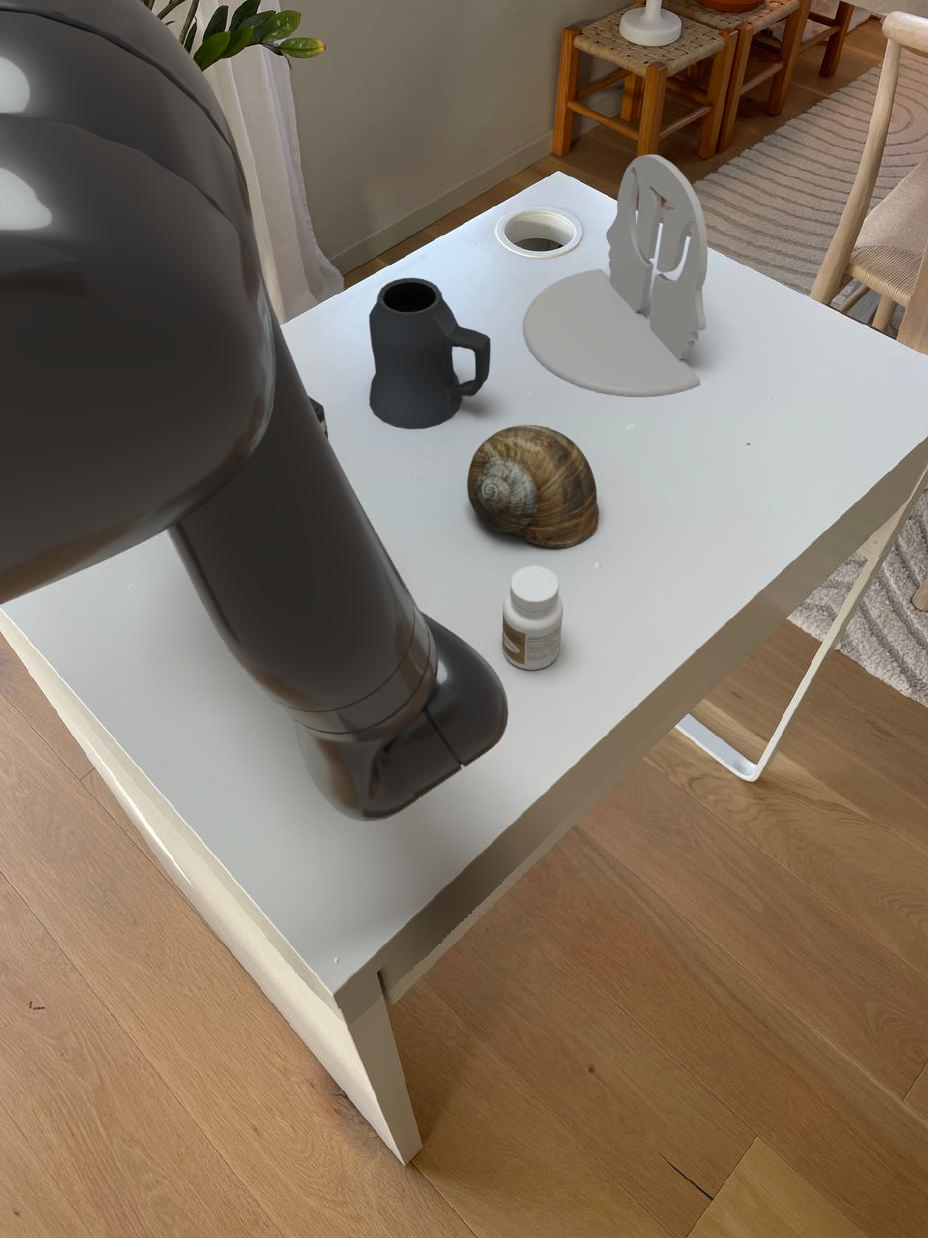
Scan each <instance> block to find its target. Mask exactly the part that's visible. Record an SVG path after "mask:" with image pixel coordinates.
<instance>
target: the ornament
mask: <svg viewBox="0 0 928 1238" xmlns="http://www.w3.org/2000/svg"><path fill="white" fill-rule="evenodd" d="M662 198H663V199H664V200H666V202H667V203H669V204H670V205H671V206H672V207H673V208H671V209H668V211H666V213H665V216H664V218H663V222H662V227H661V233H660V240H659V248H658V255H657V262H656V270H657V271H659V272H660V273H656V274H655V275H654V282H653V287H652V294H651V302H650V309H649V320H648V319H647V318H646V317H645V316H644V315H643V314H642V313H641V312H642V311H644V310H645V309H646V307H647V305H648V302H649V296H650V289H651V284H652V276H653V271H654V266H655V265H654V263H653V262H652V261H651V259H655V257H656V252H657V251H656V250H657V246H658V245H657V244H658V239H659V238H658V237H659V231H660V224H661V220H662V206H663V203H662ZM637 206H638V207H637ZM692 225H694V228H695V229H693V231H692V233H691V235H690V238H689V242H688V246H687V251H686V257H685V260H684V263H683V267H682V269H681V271H680V274H679V276H678V277H677V279H676V280H673V279H670V278H668V277H667V276H666V275H665V273H671V272H673V271H675V270H677V269H678V267H679V266H680V264H681V262H682V259H683V257H684V252H685V246H686V241H687V237H688V234H689V232H690V228H691V227H692ZM706 226H707V225H706V221H705V216H704V211H703V208H702V206H701V203H700V200H699V197H698V196H697V194H696V191H695V190H694V187H693V186H692V184H691V182H690V181H689V180H688V178H687V177H686V176H685V175H684V174H683V173H682V172H681V171H680V170H679V168H678V167H677V166H676V165H674V164H673V163H672V162H671V161H669V160H667V159H666V158H664V157H663V156H661V155H659V154H653V153H652V154H651V153H650V154H645V155H639V156H637V157H636V158H634V159H633V160H632V161H631V163H629V165H628V166H627V168H626V170H625V172H624V174H623V176H622V180H621V183H620V187H619V189H618V195H617V201H616V216H615V218H614V220H613V222H612V223H611V225H610V227H609V228H608V229H607V231H606V234H605V237H606V242H607V243H608V244H609V250H608V253H607V256H608V259H609V261H608V268H609V271H610V277H609V276H608V275H607V274H606V272H604V270H603V269H602V268H597V269H591V270H586V271H582V272H581V271H580V272H578V273H575V274H574V273H573V274H571V275H569V276H566V277H564V278H562V279H559V280H557V281H555V282H553V283H552V284H550V285H549V286H547V287H546V288H544V289H543V290H542V291H540V292H539V293H538V294H537V295H536V296H535V297H534V298H533V300H532V301H531V302H530V304H529V306H528V307H527V310H526V311H525V314H524V317H523V324H522V333H523V337H524V341H525V344H526V347H527V348H528V351H530V353H531V355H532V356H533V357H534V358H535V360H537V362H539V363H540V364H541V366H542V367H543V368H545V369H547V370H548V372H550V373H552V374H553V375H555V376H557V377H558V378H560V379H562V380H564V381H566V382H568V383H570V384H572V385H574V386H577V387H580V388H583V389H585V390H589V391H592V392H597V393H601V394H605V395H611V396H618V397H630V398H646V397H647V398H648V397H659V396H667V395H674V394H677V393H681V392H684V391H688V390H691V389H694V388H696V387H698V386H700V385H701V379H700V377H699V376H698V375H697V373H696V372H695V371H694V370H693V369H692V368H691V366H689V365H688V363H686V361H685V359H687V358H688V356H689V351H690V349H691V348H694V347H695V346H696V345H695V344H696V343H695V341H698V339H699V332H701V331H704V330H706V329H707V321H706V314H705V309H704V301H703V286H704V284H705V281H706V278H707V270H708V254H709V253H708V234H707V233H708V231H707V227H706Z"/></svg>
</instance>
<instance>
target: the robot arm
mask: <svg viewBox="0 0 928 1238" xmlns="http://www.w3.org/2000/svg"><path fill="white" fill-rule="evenodd" d="M273 305H274V304H273V303H272V300H271V297H270V293H269V290H268V288H267V284H266V281H265V278H264V273H263V267H262V261H261V256H260V251H259V245H258V239H257V234H256V228H255V223H254V217H253V211H252V206H251V199H250V193H249V187H248V183H247V178H246V173H245V169H244V167H243V164H242V160H241V157H240V155H239V151H238V147H237V145H236V141H235V138H234V136H233V133H232V130H231V127H230V125H229V123H228V120H227V118H226V115H225V114H224V111H223V109H222V107H221V105H220V103H219V101H218V99H217V96H216V94H215V92H214V90H213V89H212V86H211V84H210V83H209V82H208V79H207V78H206V76H205V74H204V72H203V71H202V70H201V68H200V66H199V65H198V64H197V62H196V61H195V60H194V58H193V57H192V56H191V54H190V53H189V52H188V51H187V49H186V48H185V46H184V45H183V44H182V43H181V42H180V40H179V39H178V38H177V36H175V34H174V32H173V31H172V29H170V27H169V26H168V25H167V24H166V23H165V22H163V21H162V20H161V19H160V18H159V17H158V16H157V15H156V14H155V13H154V12H153V11H152V10H151V9H150V8H149V7H148V6H146V5H145V4H144V3H143V2H142V1H141V0H0V606H1V605H4V604H6V603H8V602H9V603H10V602H11V601H13V600H15V599H18V598H20V597H24V596H25V595H28V594H30V593H32V592H35V591H38V590H40V589H42V588H44V587H47V586H49V585H52V584H54V583H56V582H58V581H60V580H63V579H65V578H68V577H70V576H72V575H75V574H77V573H79V572H81V571H84V570H86V569H88V568H91V567H93V566H96V565H98V564H100V563H102V562H105V561H107V560H109V559H112V558H113V557H115V556H118V555H120V554H122V553H124V552H126V551H128V550H130V549H132V548H134V547H136V546H138V545H140V544H143V543H144V542H146V541H147V540H149V539H152V538H153V537H156V536H157V535H160V534H162V533H163V532H164V531H166V532H167V534H168V536H169V538H170V541H171V543H172V545H173V547H174V549H175V551H176V553H177V555H178V557H179V559H180V561H181V563H182V565H183V567H184V569H185V571H186V574H187V576H188V578H189V580H190V582H191V584H192V586H193V588H194V590H195V592H196V594H197V596H198V598H199V600H200V602H201V604H202V606H203V608H204V610H205V611H206V613H207V615H208V617H209V619H210V620H211V622H212V624H213V626H214V627H215V629H216V631H217V633H218V635H219V637H220V639H221V640H222V642H223V643H224V645H225V646H226V648H227V650H228V651H229V652H230V654H231V655H232V656H233V658H234V659H235V661H236V663H238V664H239V666H240V667H241V668H242V669H243V671H245V673H246V674H247V675H248V676H249V677H250V678H251V679H252V681H253V682H254V683H255V684H256V686H257V687H259V688H260V689H261V690H262V691H263V692H264V693H266V694H267V695H268V696H269V697H270V698H271V699H272V700H273V701H274V702H275V703H276V704H277V705H278V706H279V707H280V708H282V709H283V711H285V712H286V713H287V714H288V715H289V716H290V717H291V718H292V719H293V720H294V723H295V731H296V736H297V741H298V745H299V749H300V752H301V755H302V758H303V761H304V764H305V766H306V768H307V771H308V773H309V776H310V778H311V780H312V781H313V783H314V785H315V786H316V788H317V790H318V791H319V793H320V794H321V795H322V797H323V798H324V799H325V801H326V802H327V803H328V804H329V805H330V806H331V807H332V808H334V809H335V810H336V811H337V812H338V813H340V814H342V815H343V816H345V817H347V818H349V819H352V820H354V821H360V822H378V821H382V820H386V819H389V818H391V817H393V816H395V815H397V814H399V813H401V812H403V811H404V810H405V809H407V808H408V807H410V806H411V805H413V804H414V803H416V802H417V801H419V800H420V798H421V799H422V798H423V797H424V796H426V795H427V794H429V793H430V792H432V791H433V790H434V789H436V788H437V787H438V786H440V785H442V784H443V783H444V782H446V781H448V780H449V779H450V778H452V777H454V776H455V775H456V774H458V773H460V772H461V771H462V770H463V767H464V768H466V767H468V766H470V765H472V763H474V762H476V761H477V760H478V759H480V758H481V757H483V756H484V755H485V754H487V753H488V752H489V751H491V750H492V749H494V747H496V745H497V744H498V743H500V741H501V739H502V738H503V736H504V735H505V732H506V730H507V726H508V721H509V720H508V719H509V702H508V697H507V693H506V690H505V687H504V685H503V683H502V681H501V678H500V677H499V675H498V674H497V672H496V671H495V669H494V668H493V666H492V665H491V664H490V663H489V661H487V660H486V659H485V657H483V655H481V653H480V652H478V650H476V649H475V648H474V647H473V646H471V645H470V644H469V643H468V642H467V641H465V640H464V639H463V638H462V637H460V636H459V635H457V634H456V633H455V632H454V631H452V630H450V629H448V628H447V627H445V626H444V625H443V624H441V623H440V622H438V621H436V620H435V619H433V618H432V617H430V616H429V615H427V613H424V612H423V611H422V610H420V608H419V607H418V605H417V602H416V601H415V599H414V597H413V596H412V594H411V592H410V590H409V589H408V586H407V584H406V582H405V581H404V579H403V577H402V575H401V574H400V572H399V570H398V569H397V567H396V565H395V563H394V561H393V560H392V557H391V556H390V554H389V552H388V551H387V549H386V548H385V545H384V543H383V542H382V540H381V538H380V536H379V534H378V533H377V530H376V529H375V526H374V525H373V524H372V522H371V520H370V518H369V516H368V515H367V512H366V510H365V509H364V507H363V505H362V503H361V501H360V499H359V498H358V496H357V493H356V491H355V490H354V488H353V486H352V485H351V483H350V481H349V478H348V477H347V474H346V473H345V470H344V469H343V467H342V465H341V463H340V461H339V459H338V457H337V455H336V453H335V452H334V451H335V450H334V449H333V447H332V444H331V443H330V441H329V431H328V427H327V420H326V414H325V408H324V405H322V404H321V403H319V402H318V401H317V400H315V399H314V398H313V397H311V396H309V395H308V392H307V390H306V388H305V386H304V383H303V381H302V379H301V375H300V373H299V371H298V368H297V366H296V364H295V360H294V359H293V356H292V353H291V351H290V349H289V346H288V343H287V341H286V338H285V336H284V333H283V330H282V328H281V325H280V321H279V319H278V317H277V313H276V311H275V308H274V306H273Z"/></svg>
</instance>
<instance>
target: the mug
mask: <svg viewBox="0 0 928 1238" xmlns="http://www.w3.org/2000/svg"><path fill="white" fill-rule="evenodd" d="M368 324H369V325H368V326H369V332H370V333H369V335H370V343H371V349H372V350H371V351H372V354H373V359H374V368H375V373H374V376H373V378H372V380H371V384H370V391H369V407H370V409H371V411H372V413H373V414H374V415H375V416H376V417H377V418H378V419H380V420H381V421H382V422H384V423H386V424H387V425H391V426H393V427H396V428H401V429H409V430H416V429H427V428H431V427H434V426H438V425H441V424H442V423H445V422H446V421H448V420H450V419H451V418H453V416H454V415H456V413H458V412H459V410H460V408H461V406H462V404H463V401H464V400H463V396H464V397H474V396H475V395H476V394H477V393H478V392H479V391H480V390H481V389H482V388H483V385H484V384H485V383H486V381H487V380H488V378H489V375H490V369H491V368H490V367H491V346H492V345H491V338H490V337H489V336H488V335H487V334H484V333H482V332H480V331H478V330H475V329H471V328H467V327H463V326H460V325H459V323H458V321H457V319H456V317H455V315H454V313H453V310H452V308H451V307H450V306H449V304H448V303H447V302H446V300H445V299H444V298H443V294H442V291H441V290H440V289H439V287H438V286H437V285H436V283H435V284H434V282H432V281H429V280H427V279H424V278H418V277H403V278H398V279H395V280H392V281H390V282H388V283H386V284H385V285H383V286H382V287H381V288H380V290H379V292H378V293H377V296H376V303H374V306H373V307H372V309H371V311H370V312H369V314H368ZM453 348H462V349H466V350H470V351H472V352H473V353H474V364H475V368H474V371H475V372H474V379H470V380H466V381H464V382H462V383H461V382H460V379H459V376H458V374H457V373H456V371H455V368H454V357H453V351H454V349H453Z"/></svg>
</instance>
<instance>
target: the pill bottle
mask: <svg viewBox="0 0 928 1238" xmlns="http://www.w3.org/2000/svg"><path fill="white" fill-rule="evenodd" d="M559 590H560V582H559V579H558V577H557V575H556V574H555V573H554V572H553V571H552V570H550V569H549V568H547V567H545V566H542V565H541V566H540V565H527V566H523V567H521V568H519V569H518V570H517V571H515V572H514V573H513V575H512V576H511V579H510V588H509V592H508V593H507V594H506V596H505V598H504V601H503V606H502V633H501V634H502V635H501V648H502V652H503V655H504V657H505V658H506V659H507V661H509V663H510V664H512V665H514V666H515V667H517V668H519V669H522V670H529V671H532V670H533V671H535V670H540V669H543V668H545V667H547V666H549V665H551V664H552V663H553V662H554V661H555V660H556V659H557V656H558V654H559V651H560V645H561V644H560V643H561V638H562V637H561V636H562V627H563V615H564V604H563V601H562V598H561V597H560V595H559V594H560V591H559Z"/></svg>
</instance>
